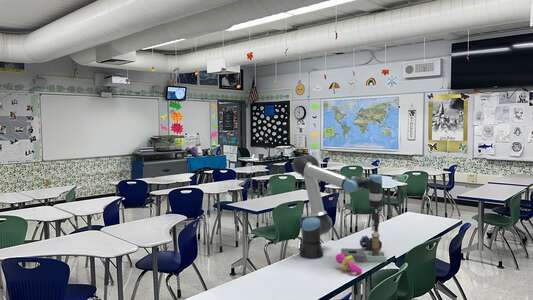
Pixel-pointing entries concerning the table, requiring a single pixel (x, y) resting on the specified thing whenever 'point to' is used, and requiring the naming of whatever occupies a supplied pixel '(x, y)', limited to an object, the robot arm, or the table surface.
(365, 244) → the toy
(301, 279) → the table surface
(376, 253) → the pin
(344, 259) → the toy
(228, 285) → the table surface
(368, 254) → the tray
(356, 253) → the hitch block
